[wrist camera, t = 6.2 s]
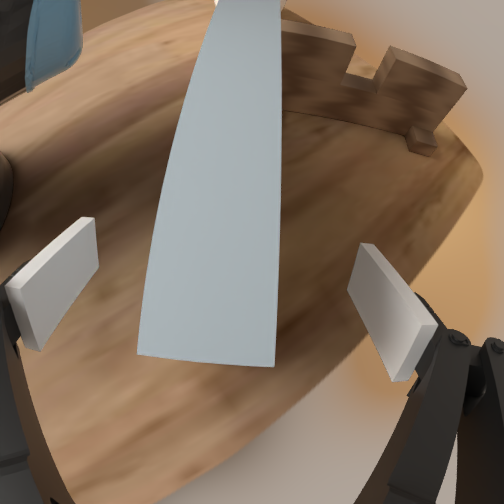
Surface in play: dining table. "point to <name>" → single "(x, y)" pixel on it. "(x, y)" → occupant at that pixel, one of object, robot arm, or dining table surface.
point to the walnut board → (365, 85)
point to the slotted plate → (222, 201)
